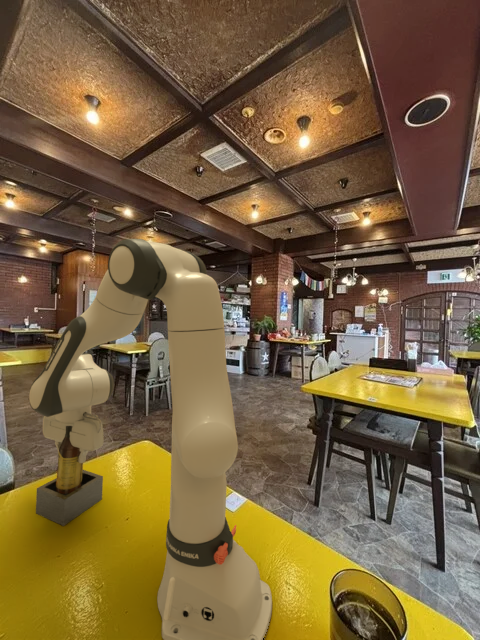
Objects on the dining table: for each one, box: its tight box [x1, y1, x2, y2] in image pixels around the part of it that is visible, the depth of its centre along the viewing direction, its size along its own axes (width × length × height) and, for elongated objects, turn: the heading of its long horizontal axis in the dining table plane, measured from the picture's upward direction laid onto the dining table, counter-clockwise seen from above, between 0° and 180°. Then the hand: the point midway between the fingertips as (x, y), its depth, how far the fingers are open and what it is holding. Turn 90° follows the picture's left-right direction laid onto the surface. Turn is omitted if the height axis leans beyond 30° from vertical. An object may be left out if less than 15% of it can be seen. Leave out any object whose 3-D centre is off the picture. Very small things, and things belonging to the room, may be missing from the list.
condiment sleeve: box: [35, 469, 104, 527], centre depth 80 cm, size 11×12×7 cm
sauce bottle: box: [56, 426, 84, 494], centre depth 79 cm, size 6×6×20 cm
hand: (71, 458), depth 79 cm, fingers closed on sauce bottle, 6 cm apart
